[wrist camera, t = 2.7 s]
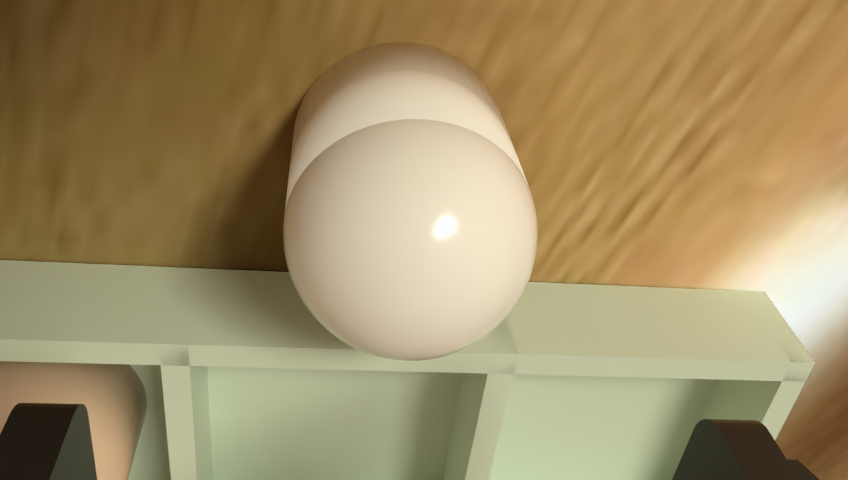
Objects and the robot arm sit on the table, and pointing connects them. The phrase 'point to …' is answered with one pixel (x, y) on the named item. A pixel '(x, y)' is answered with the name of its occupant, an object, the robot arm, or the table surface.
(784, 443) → the table surface
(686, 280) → the table surface
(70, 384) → the brown egg
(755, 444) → the robot arm
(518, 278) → the cream capsule
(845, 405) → the table surface
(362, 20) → the table surface
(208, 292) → the egg tray
